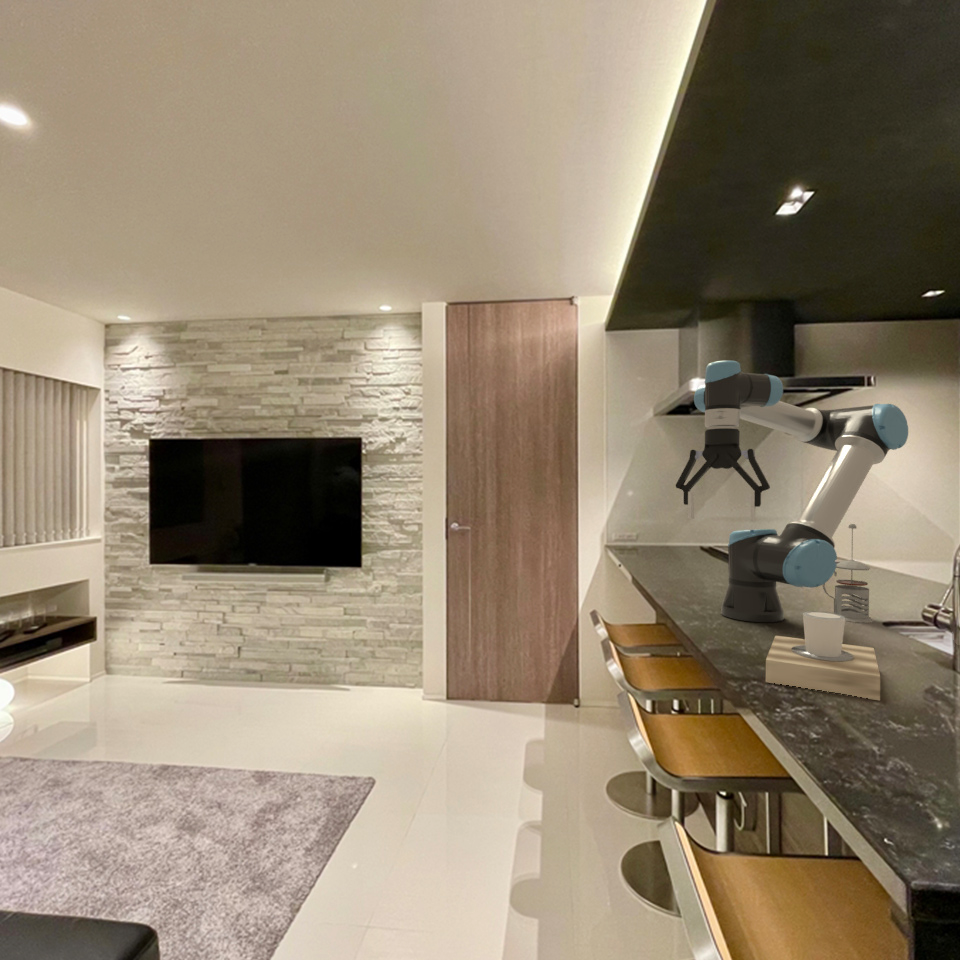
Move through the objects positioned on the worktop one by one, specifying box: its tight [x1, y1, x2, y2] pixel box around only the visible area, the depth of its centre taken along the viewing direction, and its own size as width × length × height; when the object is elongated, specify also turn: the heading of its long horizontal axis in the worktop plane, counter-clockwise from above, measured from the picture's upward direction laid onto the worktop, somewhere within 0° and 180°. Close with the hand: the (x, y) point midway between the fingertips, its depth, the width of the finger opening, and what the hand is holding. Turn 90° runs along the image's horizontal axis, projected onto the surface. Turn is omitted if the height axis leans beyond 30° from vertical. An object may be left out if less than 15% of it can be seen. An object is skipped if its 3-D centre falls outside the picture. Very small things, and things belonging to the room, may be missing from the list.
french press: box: [822, 523, 874, 623], centre depth 161 cm, size 10×12×25 cm
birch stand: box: [765, 635, 881, 701], centre depth 112 cm, size 20×17×4 cm
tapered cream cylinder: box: [802, 611, 846, 657], centre depth 112 cm, size 7×7×7 cm
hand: (721, 520), depth 141 cm, fingers open, 13 cm apart
